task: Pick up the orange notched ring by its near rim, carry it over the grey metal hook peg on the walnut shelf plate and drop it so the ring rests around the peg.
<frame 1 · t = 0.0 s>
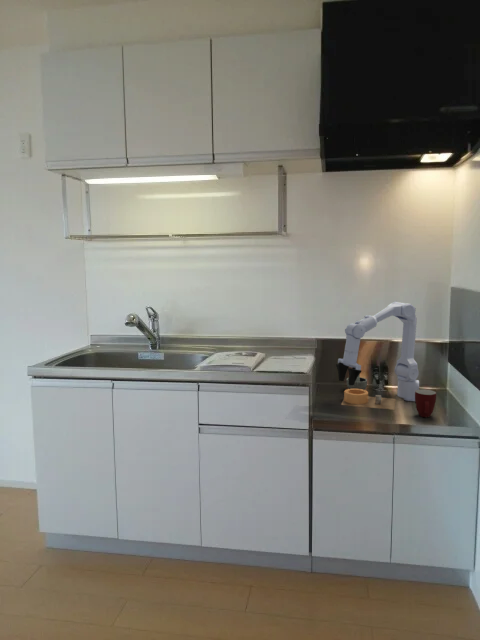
hand: (346, 382, 216), 11 cm above the worktop, tool pointing down, fingers open, 7 cm apart
orange notched ring: (356, 400, 222), point 1 cm above the worktop, touching shelf plate
shelf plate: (368, 404, 220), on the worktop
mug: (425, 417, 203), on the worktop
mortar and pestle: (356, 393, 237), on the worktop
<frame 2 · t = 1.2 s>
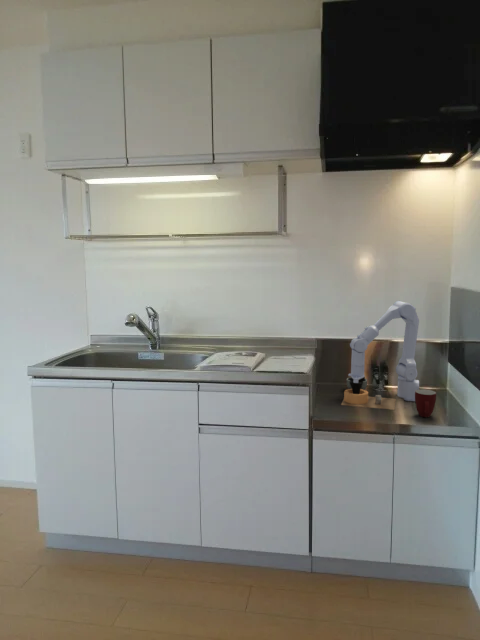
hand: (357, 394, 225), 3 cm above the worktop, tool pointing down, fingers open, 7 cm apart
nothing on the worktop moved.
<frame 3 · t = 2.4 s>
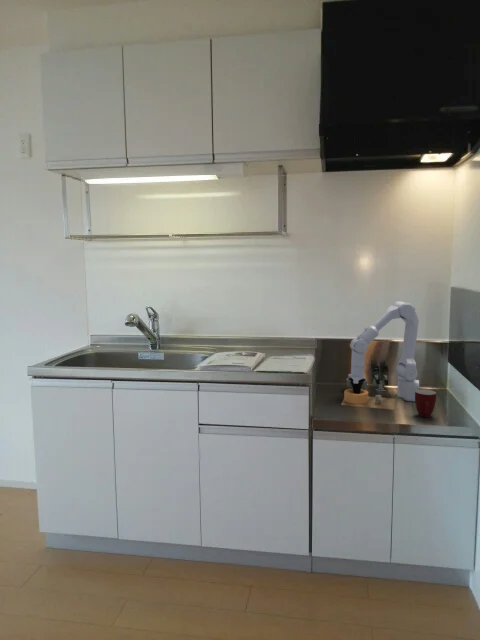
hand: (357, 395, 225), 2 cm above the worktop, tool pointing down, fingers closed on orange notched ring, 2 cm apart
orange notched ring: (356, 400, 222), point 1 cm above the worktop, touching gripper, shelf plate
everything else where it was.
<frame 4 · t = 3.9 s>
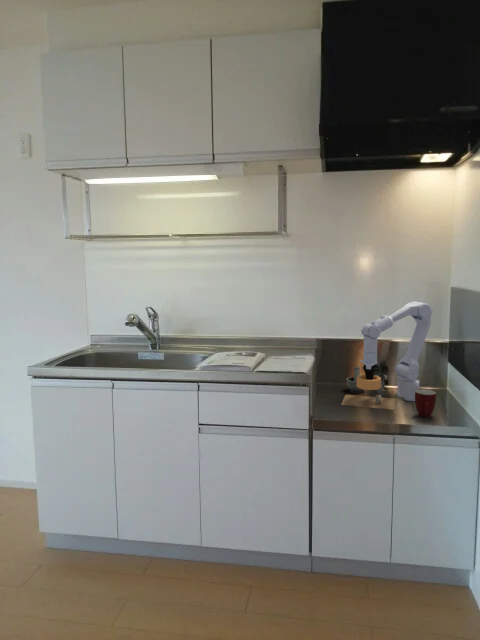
hand: (369, 381, 222), 9 cm above the worktop, tool pointing down, fingers closed on orange notched ring
orange notched ring: (368, 386, 218), point 8 cm above the worktop, touching gripper
everything else where it was.
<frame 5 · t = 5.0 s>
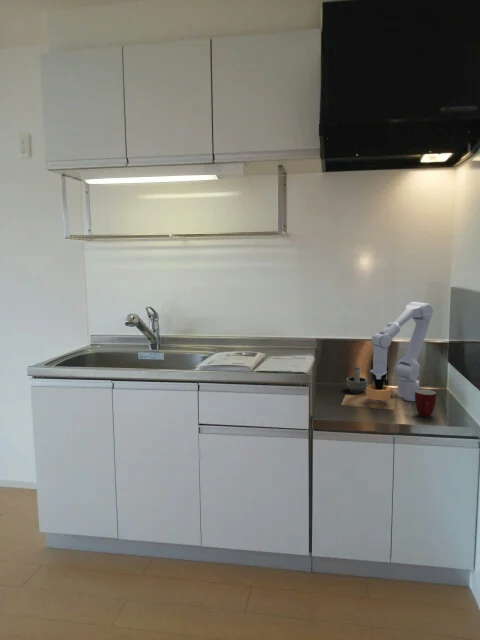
hand: (379, 391, 221), 5 cm above the worktop, tool pointing down, fingers closed on orange notched ring
orange notched ring: (378, 396, 217), point 4 cm above the worktop, touching gripper
everything else where it was.
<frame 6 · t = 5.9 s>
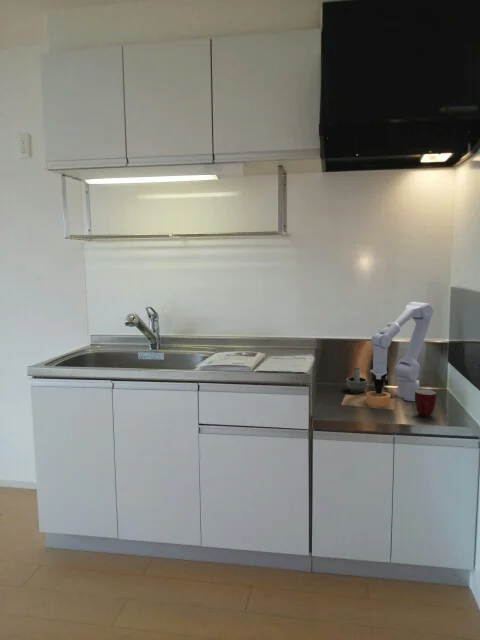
hand: (379, 391, 221), 5 cm above the worktop, tool pointing down, fingers open, 5 cm apart
orange notched ring: (378, 403, 218), point 1 cm above the worktop, touching shelf plate
everything else where it was.
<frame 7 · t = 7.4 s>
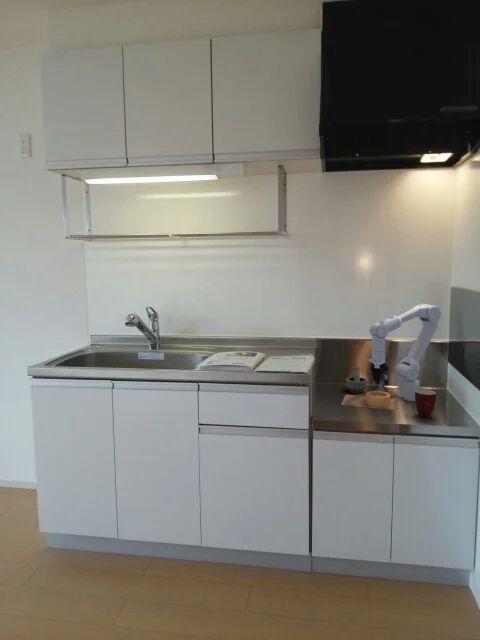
hand: (377, 380, 223), 9 cm above the worktop, tool pointing down, fingers open, 7 cm apart
nothing on the worktop moved.
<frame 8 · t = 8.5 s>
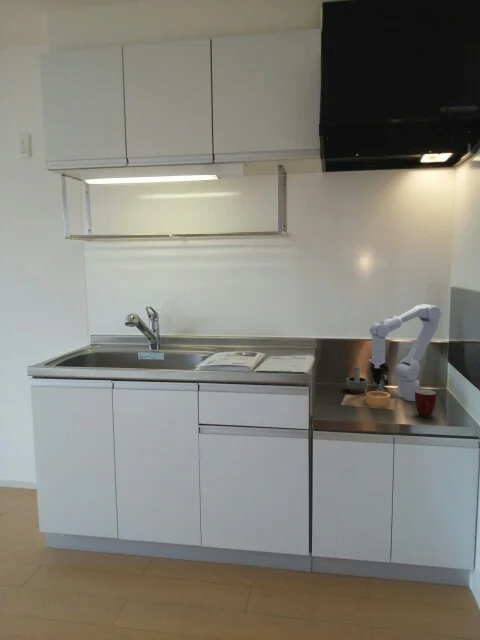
hand: (377, 380, 223), 9 cm above the worktop, tool pointing down, fingers open, 7 cm apart
nothing on the worktop moved.
at the end: orange notched ring 0.4 cm from the target spot on the shelf plate, point 1.2 cm above the shelf plate's base; orange notched ring tilted 0°; the gripper is holding nothing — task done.
